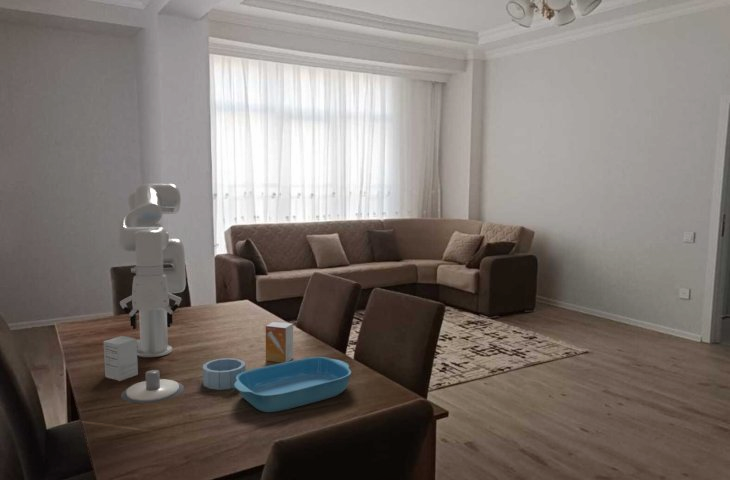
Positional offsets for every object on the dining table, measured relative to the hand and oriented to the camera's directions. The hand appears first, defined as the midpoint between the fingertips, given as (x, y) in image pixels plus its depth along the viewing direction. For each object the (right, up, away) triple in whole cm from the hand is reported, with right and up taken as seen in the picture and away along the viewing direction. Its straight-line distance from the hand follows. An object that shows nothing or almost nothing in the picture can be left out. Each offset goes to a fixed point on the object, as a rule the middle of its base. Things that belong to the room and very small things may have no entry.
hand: (152, 327), depth 169 cm
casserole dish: (+43, -21, +2) cm, 48 cm away
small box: (+33, -17, +34) cm, 50 cm away
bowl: (+19, -20, +11) cm, 29 cm away
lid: (0, -20, +2) cm, 20 cm away
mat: (0, -20, +2) cm, 21 cm away
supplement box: (-16, -19, +15) cm, 29 cm away
